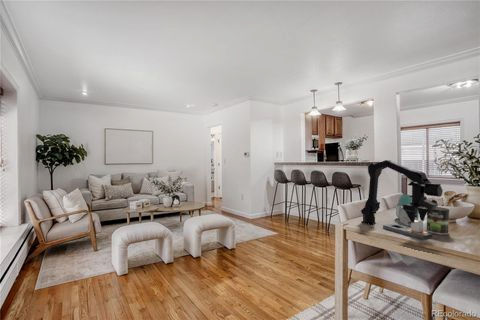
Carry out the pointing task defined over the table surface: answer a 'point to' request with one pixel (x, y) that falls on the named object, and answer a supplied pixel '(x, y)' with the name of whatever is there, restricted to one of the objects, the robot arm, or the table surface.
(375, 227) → the table surface
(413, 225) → the steel peg
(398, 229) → the rail
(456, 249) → the table surface
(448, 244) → the table surface
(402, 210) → the light bulb box
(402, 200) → the vase
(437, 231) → the coffee can
